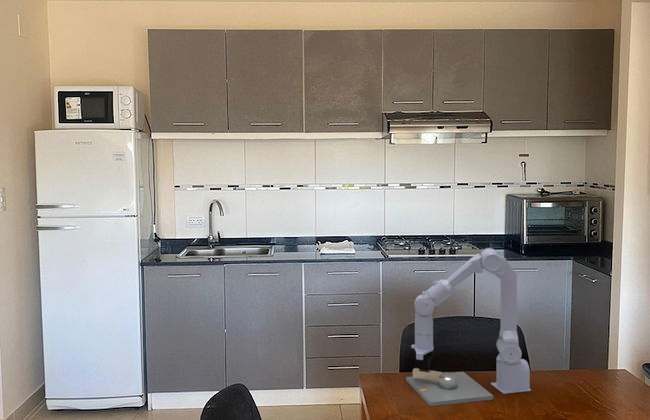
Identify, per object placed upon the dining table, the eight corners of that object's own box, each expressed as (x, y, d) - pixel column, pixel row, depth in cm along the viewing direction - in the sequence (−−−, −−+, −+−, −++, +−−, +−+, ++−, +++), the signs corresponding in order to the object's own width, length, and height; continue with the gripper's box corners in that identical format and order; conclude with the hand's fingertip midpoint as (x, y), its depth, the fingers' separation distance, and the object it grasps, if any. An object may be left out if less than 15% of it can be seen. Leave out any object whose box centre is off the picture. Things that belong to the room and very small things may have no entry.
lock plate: (463, 375, 182) (463, 370, 182) (493, 399, 163) (493, 394, 163) (406, 380, 178) (406, 376, 178) (429, 406, 159) (429, 401, 159)
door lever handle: (459, 383, 172) (459, 372, 171) (454, 390, 166) (454, 379, 166) (416, 376, 178) (416, 365, 178) (410, 383, 173) (410, 372, 172)
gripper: (416, 325, 183) (416, 365, 184) (406, 338, 169) (406, 381, 170) (437, 327, 180) (437, 367, 181) (429, 340, 167) (429, 384, 168)
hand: (424, 374), depth 176 cm, fingers closed
